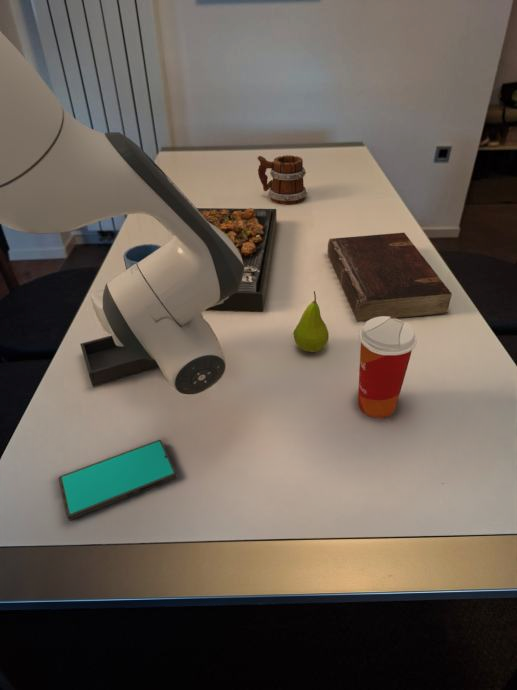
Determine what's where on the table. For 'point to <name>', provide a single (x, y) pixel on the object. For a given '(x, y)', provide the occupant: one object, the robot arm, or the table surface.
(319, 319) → the fruit
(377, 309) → the hardback book
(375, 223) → the table surface
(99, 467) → the smartphone
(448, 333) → the table surface
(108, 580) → the table surface
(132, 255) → the blue cup
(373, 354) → the coffee cup
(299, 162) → the mug
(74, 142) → the robot arm
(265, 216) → the food platter
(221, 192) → the table surface
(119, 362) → the tray
